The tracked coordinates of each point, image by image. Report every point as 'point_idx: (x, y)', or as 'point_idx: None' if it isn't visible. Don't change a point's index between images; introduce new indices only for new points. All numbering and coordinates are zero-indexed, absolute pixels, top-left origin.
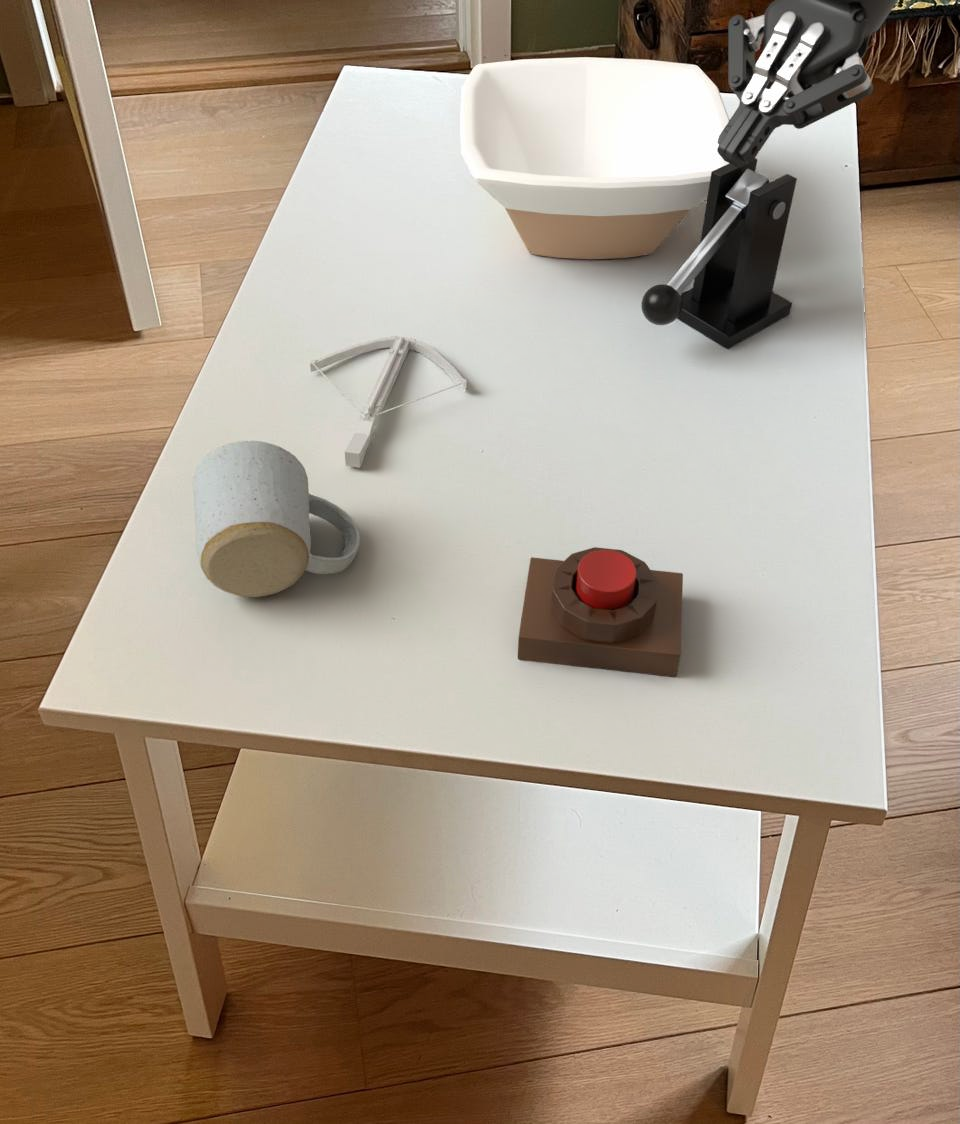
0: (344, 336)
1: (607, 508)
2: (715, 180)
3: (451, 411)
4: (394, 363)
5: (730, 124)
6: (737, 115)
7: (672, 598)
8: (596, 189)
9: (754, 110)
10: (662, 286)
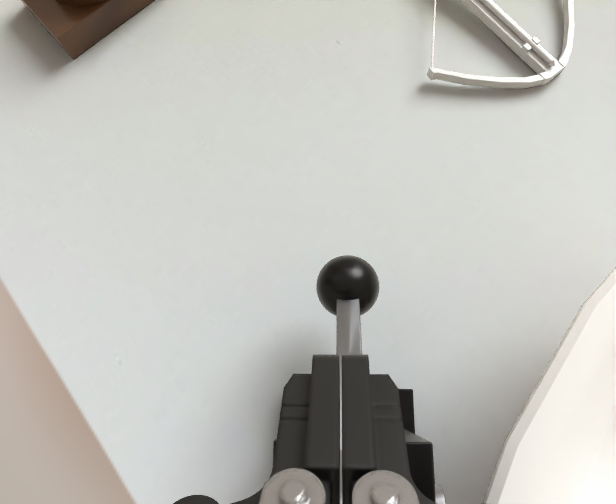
0: (609, 37)
1: (192, 82)
2: (412, 440)
3: (412, 53)
4: (512, 33)
5: (390, 423)
6: (390, 451)
7: (46, 13)
8: (597, 289)
9: (330, 468)
10: (352, 280)
